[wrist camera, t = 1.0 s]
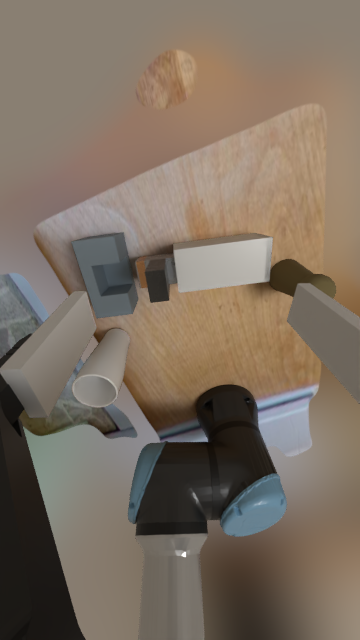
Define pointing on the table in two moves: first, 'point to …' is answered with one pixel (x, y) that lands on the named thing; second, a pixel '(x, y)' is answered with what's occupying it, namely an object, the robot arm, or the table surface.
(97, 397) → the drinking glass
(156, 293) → the sliding bolt
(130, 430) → the table surface
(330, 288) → the olive knob-topped post
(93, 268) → the socket
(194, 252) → the sleeve
